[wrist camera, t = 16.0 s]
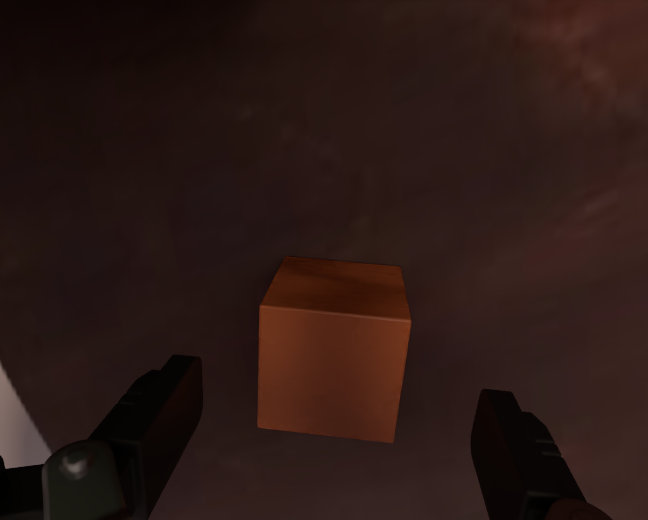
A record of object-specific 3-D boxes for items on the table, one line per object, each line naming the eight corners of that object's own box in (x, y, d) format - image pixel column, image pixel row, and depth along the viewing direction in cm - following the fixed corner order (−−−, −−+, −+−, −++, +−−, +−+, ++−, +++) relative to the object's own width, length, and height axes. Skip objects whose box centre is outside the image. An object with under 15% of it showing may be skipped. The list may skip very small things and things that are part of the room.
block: (280, 355, 19) (256, 429, 15) (284, 255, 17) (258, 305, 13) (387, 366, 19) (393, 444, 15) (401, 266, 17) (412, 320, 13)
